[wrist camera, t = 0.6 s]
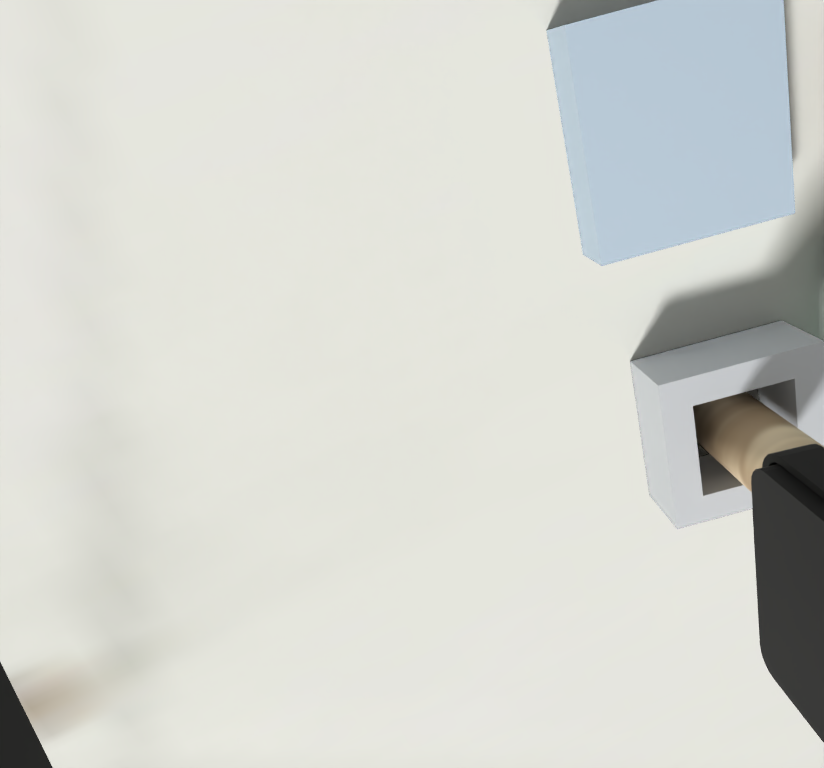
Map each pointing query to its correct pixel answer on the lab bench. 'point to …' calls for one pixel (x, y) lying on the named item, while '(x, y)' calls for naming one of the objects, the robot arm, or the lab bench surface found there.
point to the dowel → (744, 433)
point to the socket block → (710, 380)
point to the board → (674, 122)
